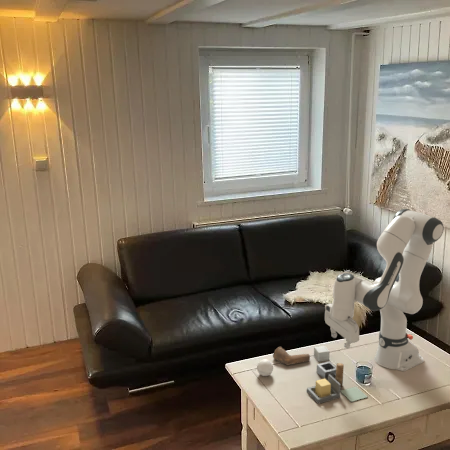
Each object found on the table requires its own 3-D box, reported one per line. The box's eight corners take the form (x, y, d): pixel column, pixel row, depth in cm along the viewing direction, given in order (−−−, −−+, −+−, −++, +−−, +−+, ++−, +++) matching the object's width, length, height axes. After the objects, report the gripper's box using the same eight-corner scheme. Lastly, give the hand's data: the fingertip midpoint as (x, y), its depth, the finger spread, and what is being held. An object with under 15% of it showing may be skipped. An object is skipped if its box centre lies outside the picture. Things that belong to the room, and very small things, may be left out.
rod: (339, 382, 225) (341, 362, 222) (343, 386, 222) (345, 366, 219) (333, 384, 224) (335, 364, 221) (337, 388, 221) (339, 367, 218)
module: (324, 390, 220) (324, 378, 218) (330, 396, 216) (330, 384, 214) (315, 393, 218) (315, 380, 216) (320, 399, 214) (321, 386, 212)
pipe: (313, 354, 239) (303, 340, 248) (279, 360, 234) (271, 346, 243) (311, 365, 242) (302, 351, 250) (278, 371, 237) (270, 357, 246)
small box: (329, 360, 242) (329, 351, 241) (318, 362, 241) (318, 352, 240) (324, 354, 248) (324, 345, 246) (313, 355, 246) (313, 346, 245)
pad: (356, 387, 222) (356, 386, 221) (367, 397, 214) (367, 396, 214) (340, 391, 219) (340, 390, 219) (351, 402, 212) (351, 401, 212)
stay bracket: (329, 368, 235) (330, 361, 234) (338, 376, 229) (338, 368, 228) (316, 372, 233) (316, 364, 232) (324, 380, 227) (325, 372, 226)
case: (328, 385, 223) (329, 373, 221) (340, 397, 215) (341, 384, 213) (306, 391, 219) (307, 379, 217) (318, 403, 211) (318, 391, 209)
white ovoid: (269, 369, 236) (269, 354, 234) (275, 377, 229) (275, 363, 227) (248, 372, 233) (248, 358, 231) (254, 381, 227) (254, 367, 224)
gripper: (364, 321, 205) (361, 352, 209) (335, 301, 223) (333, 330, 227) (351, 324, 203) (348, 355, 207) (322, 303, 221) (321, 332, 225)
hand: (340, 342), depth 217 cm, fingers open, 8 cm apart
